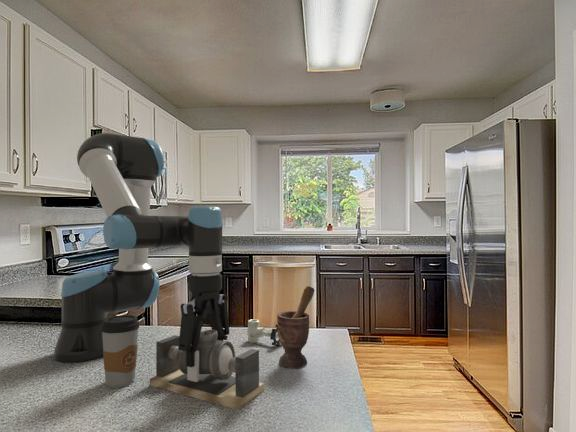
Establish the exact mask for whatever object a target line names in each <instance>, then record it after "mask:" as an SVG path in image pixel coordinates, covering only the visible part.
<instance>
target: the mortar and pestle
mask: <svg viewBox="0 0 576 432" xmlns="http://www.w3.org/2000/svg"><path fill="white" fill-rule="evenodd" d="M314 294H315V288H314V287H311V286H310V285H309V286H308V285H307V286H305V288H304V289H303V291H302V294H301V298H300V301H299V304H298V306H297V309H296V310H294V311H293V310H292V311H291V310H290V311H281V312H279V313H277V314H276V316H277V317H276V318H277V319H276V323H277V327H276V328H277V333H278V337H279V338H278V340H279V339H280V346H281V347H282V348H283V350H284V353H282V355H280V357H279V361H278V364H279V366H280V367H281V368H288V369H300V368H303V367H304V366H306V365H307V364H308V361H307V358H306V356H305V355H304V354H303V353H302V350H303V348H304V347H305V346H306V345H307V342H308V339H309V334H310V315H309V314H308V312H306V310H307V308H308V306H309V304H310V302H311V301H312V300H313V297H314Z"/></svg>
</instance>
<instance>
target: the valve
mask: <svg viewBox="0 0 576 432" xmlns="http://www.w3.org/2000/svg"><path fill="white" fill-rule="evenodd" d="M277 325H278V323H277V324H275V325H274V327H275V328H272V329H271V330H266V328H264V327H260V319H255V318H253V319H248V321H247V330H246V332H247V333H246V334H247V335H248V336H247V342H249V343H251V344H252V343H253V344H254V343H259V342H260V338H264V337H268V338H269V340H271V345H272V346H274V347H280V346H281V344H280V339H279V337H278V332H277ZM277 339H278V340H277ZM272 341H273V342H272Z"/></svg>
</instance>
